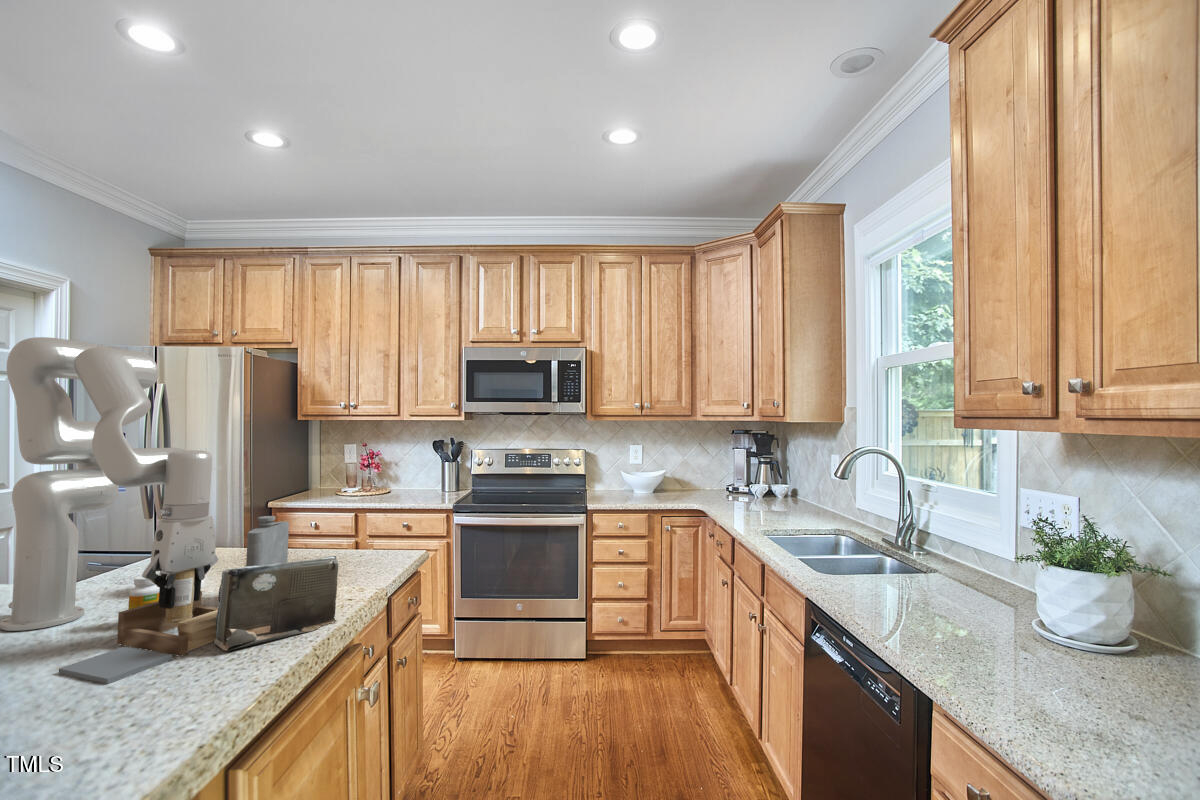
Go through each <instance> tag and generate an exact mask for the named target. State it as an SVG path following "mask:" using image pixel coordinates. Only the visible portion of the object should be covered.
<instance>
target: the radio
mask: <svg viewBox="0 0 1200 800" xmlns="http://www.w3.org/2000/svg"><path fill="white" fill-rule="evenodd" d="M338 572H339V562H338V559H337V556H336V555H333V556H325V557H319V558H313V559H304V560H295V561H289V562H288V561H287V563H280V564H271V565H263V566H248V567H246V566H243V567H236V568H225V569H223V571H222V573H221V581H220V585H219V589H218V607H217V608H218V612H217V616H216V638H215V640H214V642H213V644H215V645H217V646H218V648H220V649H222V650H223V651H224V652H229V651H233V650H237V649H240V648H246V647H249V646H253V645H257V644H262V643H266V642H271V641H274V640H280V639H283V638H287V637H291V636H297V635H301V634H305V633H309V632H312V631H316V630H318V629H319V628H321V627H324V626H326V625H330V624H333V623H336V622H337V619H336V618H335V616H336V605H337V603H336V602H337V594H338V574H339V573H338ZM335 619H336V620H335Z"/></svg>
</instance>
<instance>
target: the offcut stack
mask: <svg viewBox="0 0 1200 800" xmlns="http://www.w3.org/2000/svg"><path fill="white" fill-rule="evenodd" d="M217 612H218V610H216V611H212V612H209V613H206V614H203V615H200V616H197V617H194V618H191V619H188V620H184V621H181V622H178V627H177V630H176V631H177V632H178V633H177V635H179V636H185V637H188V650H187V652H190V651H193V650H195V649H197V648H198V649H199V648H201V647H203V646H206V645H209V644H211V643H214V642H213V641H214V640H215V638H216V616H217ZM208 643H209V644H208ZM205 644H206V645H205ZM192 649H193V650H192ZM189 650H190V651H189Z"/></svg>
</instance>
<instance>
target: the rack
mask: <svg viewBox="0 0 1200 800" xmlns="http://www.w3.org/2000/svg"><path fill="white" fill-rule="evenodd" d="M202 595H203V591H202V590H201V592H200V599H199V600H198V601H193V606H192V615H193V616H192V618H194V617H197V616H200V615H203V614H206V613H209V612H212V611H216V610H218V607H215V606H208V605H202V600H203V597H202ZM165 617H166V608H162V607H160V606H159V601H158V602H154V603H150V604H147V605H143V606H139V607H136V608H132V609H129V610H128V609H126V610H121V611H118V617H117V632H116V633H117V634H116V645H117V644H121V645H120V646H123V645H126V646H127V647H128V646H131V647H132V648H133V647H135V648H137V649H139V648H141V649H143V650H144V649H147V650H148V651H149V650H152V651H154V652H155V651H156V652H159V653H160V652H161V653H164V654H170V655H172V656H176V655H178V657H183V656H185V655H188V651H187V650H188V637H185V636H179V635H178V634H174V633H167V631H170V629H171V630H173V628H174V629H176V628H175V627H177V628H178V623H167V622H165ZM182 655H183V656H182Z"/></svg>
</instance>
